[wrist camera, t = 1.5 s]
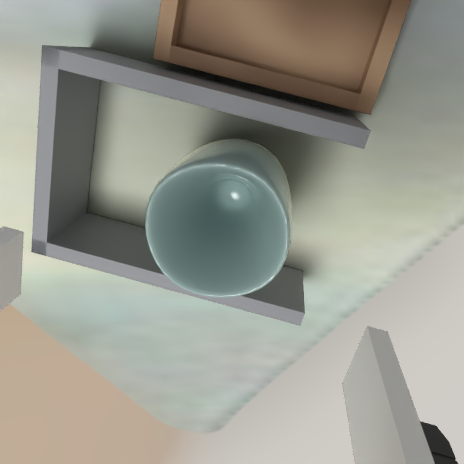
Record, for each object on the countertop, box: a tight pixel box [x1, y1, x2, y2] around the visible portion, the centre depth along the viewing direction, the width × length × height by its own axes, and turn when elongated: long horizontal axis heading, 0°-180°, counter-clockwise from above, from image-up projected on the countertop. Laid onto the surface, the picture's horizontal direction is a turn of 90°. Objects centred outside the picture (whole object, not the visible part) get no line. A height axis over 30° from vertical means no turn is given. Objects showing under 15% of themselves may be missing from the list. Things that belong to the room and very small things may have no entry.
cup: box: [145, 139, 292, 298], centre depth 27 cm, size 8×8×10 cm
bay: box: [32, 45, 370, 326], centre depth 29 cm, size 13×18×6 cm
